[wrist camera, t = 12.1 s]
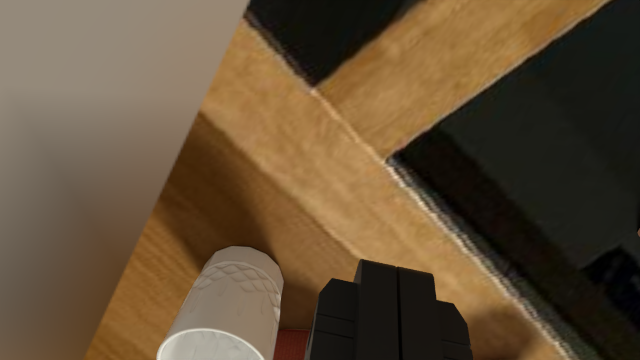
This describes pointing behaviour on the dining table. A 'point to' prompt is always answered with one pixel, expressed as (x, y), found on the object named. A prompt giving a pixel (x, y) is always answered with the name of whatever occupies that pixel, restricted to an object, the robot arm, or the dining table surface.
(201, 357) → the white cup
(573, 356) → the dining table surface
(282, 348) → the snack package
